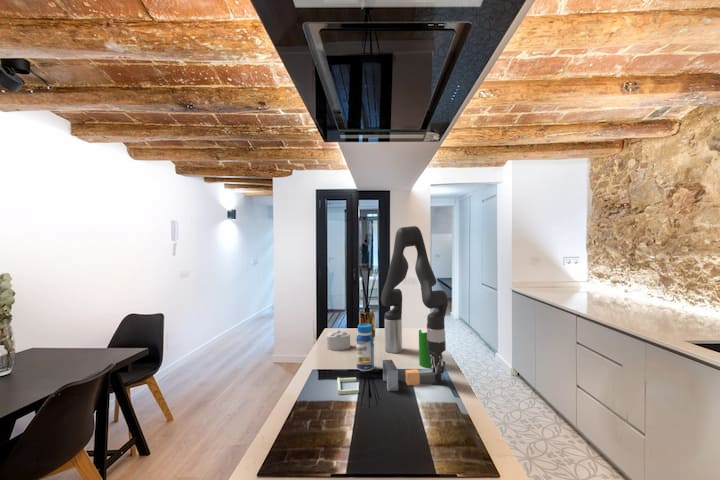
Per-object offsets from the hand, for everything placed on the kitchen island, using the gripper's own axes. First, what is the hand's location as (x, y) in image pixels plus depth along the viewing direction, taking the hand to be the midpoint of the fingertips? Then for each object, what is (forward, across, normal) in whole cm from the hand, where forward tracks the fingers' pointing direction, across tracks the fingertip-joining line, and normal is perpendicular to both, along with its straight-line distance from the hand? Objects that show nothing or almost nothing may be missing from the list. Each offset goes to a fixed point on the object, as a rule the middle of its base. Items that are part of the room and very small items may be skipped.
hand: (437, 380), depth 136 cm
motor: (+1, -19, +3) cm, 19 cm away
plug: (+1, 0, -6) cm, 6 cm away
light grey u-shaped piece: (+1, 0, -37) cm, 37 cm away
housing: (+1, 0, -20) cm, 20 cm away
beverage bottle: (+1, -19, -28) cm, 34 cm away
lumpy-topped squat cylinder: (+1, -52, -39) cm, 65 cm away
